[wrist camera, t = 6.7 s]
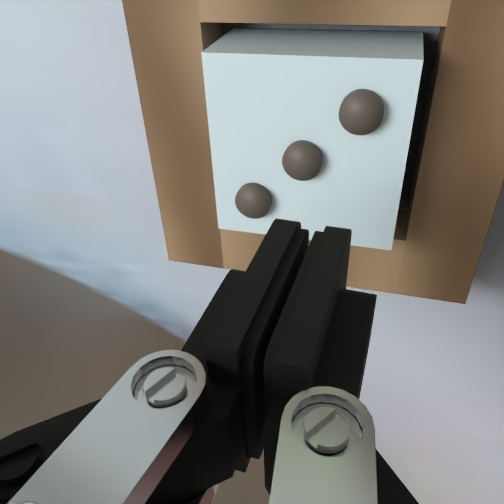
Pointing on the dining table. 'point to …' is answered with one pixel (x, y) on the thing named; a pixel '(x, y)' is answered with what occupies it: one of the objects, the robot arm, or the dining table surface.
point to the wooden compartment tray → (429, 153)
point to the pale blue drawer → (311, 128)
